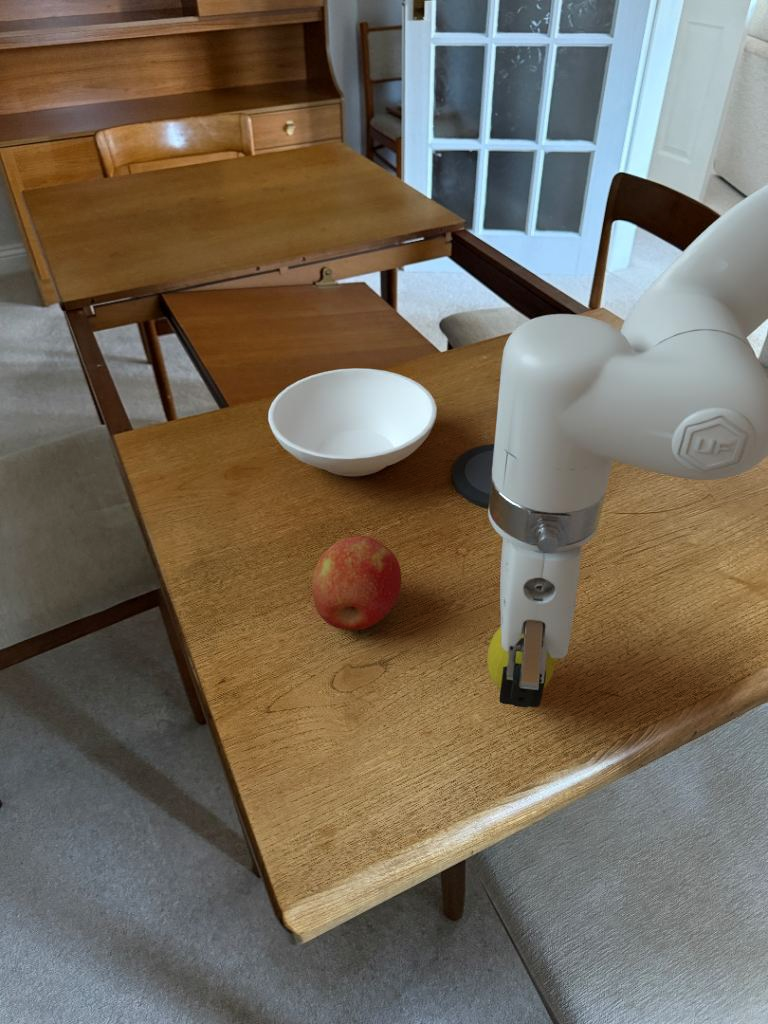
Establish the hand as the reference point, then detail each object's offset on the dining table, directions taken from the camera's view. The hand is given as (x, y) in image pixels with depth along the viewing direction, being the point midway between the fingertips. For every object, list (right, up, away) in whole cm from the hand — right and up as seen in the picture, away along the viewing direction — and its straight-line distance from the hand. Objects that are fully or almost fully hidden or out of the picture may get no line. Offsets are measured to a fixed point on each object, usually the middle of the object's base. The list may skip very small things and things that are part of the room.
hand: (519, 666), depth 62 cm
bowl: (-15, +19, +29) cm, 38 cm away
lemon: (0, -2, +2) cm, 3 cm away
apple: (-14, +3, +9) cm, 17 cm away
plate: (+3, +17, +25) cm, 30 cm away
